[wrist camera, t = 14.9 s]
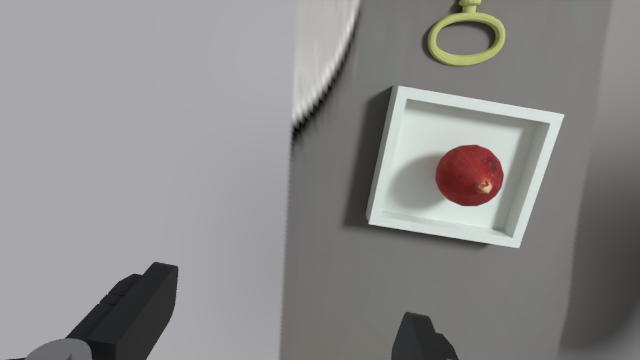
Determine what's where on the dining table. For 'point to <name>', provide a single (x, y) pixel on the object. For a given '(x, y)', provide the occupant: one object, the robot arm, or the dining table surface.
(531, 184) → the tray
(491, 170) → the onion
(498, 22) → the key
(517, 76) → the dining table surface
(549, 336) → the dining table surface
